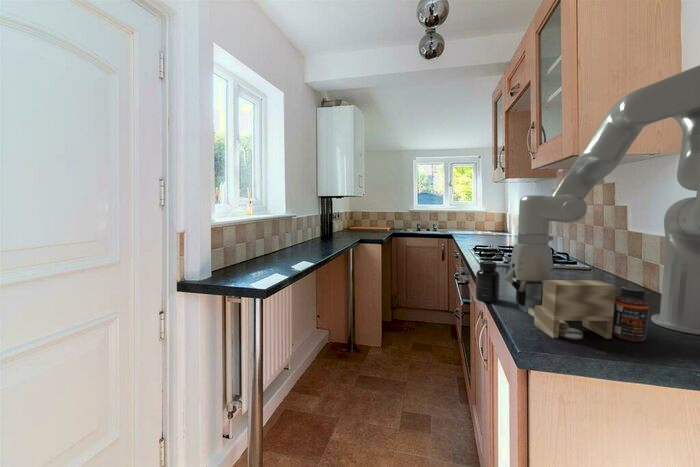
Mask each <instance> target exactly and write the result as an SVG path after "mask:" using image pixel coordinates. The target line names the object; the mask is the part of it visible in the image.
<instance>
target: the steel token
mask: <svg viewBox="0 0 700 467" xmlns="http://www.w3.org/2000/svg"><path fill="white" fill-rule="evenodd" d="M559 336H560V337H563V338H565V339H571V340H581V339H583V338H584V331H581V330H580V329H576V328H572V327H569V326H568V327H559Z"/></svg>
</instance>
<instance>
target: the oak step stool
mask: <svg viewBox="0 0 700 467" xmlns="http://www.w3.org/2000/svg"><path fill="white" fill-rule="evenodd" d="M615 296H616V285H615V284H612V283H609V282H605V281H602V280H597V279H596V280H593V279H591V280H584V279H583V280H581V279H580V280H579V279H577V280H575V279H572V280H571V279H567V280H566V279H565V280H564V279H559V280H543V296H542V305H535V316H533V318H534V319H533V320H534V322H533V326H535V328H537V329H539V330H540V331H542V332H544V333H545V334H546V335H548V336H549V337H551V338H552V339H559V336H560V335H559V320H562V321H564V322H566V321H576V322H578V321H581V322H582V323H581V325H582V327H583V328H586V329H588V330H589V331H592V332H594V333H595V334H597V335H599V336H601V337H603V338H605V339H613V337H612V336H613V333H612V327H613V314H614V303H615V298H616V297H615Z"/></svg>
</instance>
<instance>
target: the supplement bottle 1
mask: <svg viewBox="0 0 700 467" xmlns="http://www.w3.org/2000/svg"><path fill="white" fill-rule="evenodd" d="M497 265H498V264H497V262H496V261H490V260H488V261H487V260H483V261H479V270H477V271H476V274H475V300H476V301H478V302H480V303H487V304H493V303H498V302H499V301H500V281H501V278H500V277H501V274H500V272H499V271H497V270H498V269H497Z"/></svg>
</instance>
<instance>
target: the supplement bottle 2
mask: <svg viewBox="0 0 700 467" xmlns="http://www.w3.org/2000/svg"><path fill="white" fill-rule="evenodd" d="M620 289H621V290H620V294H619V295H617V296H616V297H615V299H614V313H613V327H612V336H614V337H616V338H618V339H621V340H624V341H629V342H637V343H641V342H645V340H646V339H647V333H648V332H647V331H648V322H649V313H650V312H649V311H650V310H649V309H650V303H649V300H648V299H645V297H644V296H645V290H644V289H643V288H640V287H636V286H635V287H634V286H621V288H620Z"/></svg>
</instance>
